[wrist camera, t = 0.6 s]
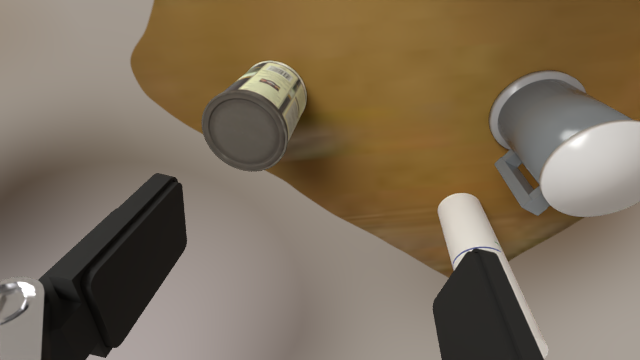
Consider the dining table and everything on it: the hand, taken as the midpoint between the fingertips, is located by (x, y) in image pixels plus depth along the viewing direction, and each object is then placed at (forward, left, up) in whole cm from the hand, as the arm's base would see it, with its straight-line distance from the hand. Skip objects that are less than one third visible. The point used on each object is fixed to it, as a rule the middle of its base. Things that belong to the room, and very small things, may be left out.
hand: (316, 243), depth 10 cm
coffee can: (+13, -7, -38) cm, 41 cm away
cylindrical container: (+16, +30, -38) cm, 51 cm away
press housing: (-2, +27, -38) cm, 47 cm away
